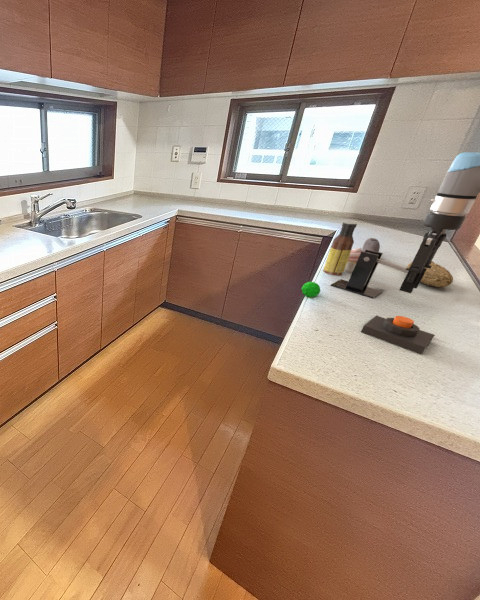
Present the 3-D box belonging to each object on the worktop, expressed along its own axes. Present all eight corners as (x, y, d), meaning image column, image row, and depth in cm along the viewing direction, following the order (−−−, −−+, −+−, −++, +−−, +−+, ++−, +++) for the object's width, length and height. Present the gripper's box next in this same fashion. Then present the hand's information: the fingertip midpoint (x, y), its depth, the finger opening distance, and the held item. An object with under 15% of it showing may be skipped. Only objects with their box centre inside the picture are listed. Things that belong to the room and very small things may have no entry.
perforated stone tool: (377, 261, 140) (384, 246, 137) (362, 259, 143) (368, 243, 140) (374, 253, 151) (380, 238, 148) (360, 250, 154) (366, 236, 151)
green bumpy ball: (319, 296, 106) (324, 283, 104) (315, 300, 103) (320, 287, 101) (301, 291, 109) (306, 278, 107) (297, 295, 106) (302, 282, 104)
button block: (430, 342, 83) (438, 328, 81) (420, 354, 77) (429, 341, 76) (372, 322, 91) (379, 309, 90) (360, 332, 86) (366, 319, 84)
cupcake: (358, 278, 122) (369, 253, 117) (330, 270, 128) (340, 246, 124) (367, 273, 126) (379, 249, 122) (340, 266, 133) (350, 242, 129)
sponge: (402, 272, 132) (397, 274, 118) (417, 255, 128) (414, 254, 115) (443, 289, 124) (443, 292, 110) (460, 271, 120) (462, 272, 107)
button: (412, 326, 82) (415, 320, 82) (408, 330, 81) (412, 324, 80) (394, 320, 85) (397, 314, 84) (390, 324, 83) (393, 318, 82)
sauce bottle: (341, 273, 125) (362, 222, 117) (341, 278, 121) (364, 225, 112) (321, 270, 129) (340, 220, 120) (321, 274, 124) (341, 223, 115)
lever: (418, 276, 99) (423, 269, 98) (413, 280, 96) (419, 273, 95) (365, 257, 109) (369, 251, 107) (359, 260, 106) (364, 253, 104)
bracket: (380, 294, 109) (400, 255, 103) (371, 300, 104) (391, 260, 98) (339, 282, 118) (355, 245, 112) (329, 287, 113) (345, 249, 107)
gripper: (436, 207, 97) (400, 279, 108) (420, 214, 88) (383, 291, 98) (472, 212, 92) (431, 286, 102) (460, 219, 82) (416, 300, 92)
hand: (408, 289), depth 100 cm, fingers closed on lever, 5 cm apart
